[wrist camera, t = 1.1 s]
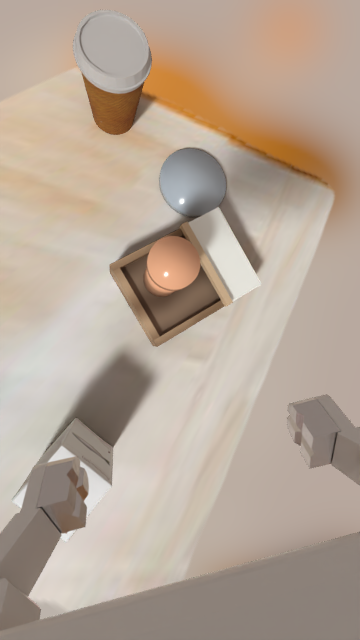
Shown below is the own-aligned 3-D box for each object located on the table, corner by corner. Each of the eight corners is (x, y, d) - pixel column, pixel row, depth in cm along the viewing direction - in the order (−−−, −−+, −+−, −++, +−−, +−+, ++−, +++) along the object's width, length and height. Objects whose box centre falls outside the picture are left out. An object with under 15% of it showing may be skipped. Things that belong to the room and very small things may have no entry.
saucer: (146, 167, 49) (147, 164, 48) (203, 142, 51) (205, 138, 50) (181, 228, 49) (182, 226, 48) (235, 200, 52) (237, 197, 51)
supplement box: (114, 447, 45) (115, 487, 33) (78, 489, 44) (65, 547, 31) (76, 414, 44) (62, 443, 32) (38, 456, 43) (8, 503, 31)
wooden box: (109, 272, 47) (109, 264, 42) (206, 221, 50) (216, 209, 46) (152, 346, 47) (157, 346, 42) (245, 290, 51) (259, 285, 46)
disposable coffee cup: (137, 152, 49) (145, 93, 37) (76, 133, 47) (63, 65, 35) (148, 98, 50) (159, 24, 38) (89, 78, 48) (80, -7, 36)
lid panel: (178, 229, 44) (181, 224, 42) (216, 209, 46) (221, 203, 44) (222, 307, 45) (227, 305, 43) (259, 285, 46) (265, 282, 44)
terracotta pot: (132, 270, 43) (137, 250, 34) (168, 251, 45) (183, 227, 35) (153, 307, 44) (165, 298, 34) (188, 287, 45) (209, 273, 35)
